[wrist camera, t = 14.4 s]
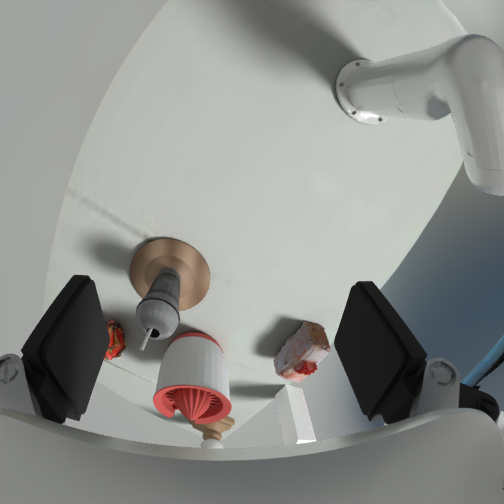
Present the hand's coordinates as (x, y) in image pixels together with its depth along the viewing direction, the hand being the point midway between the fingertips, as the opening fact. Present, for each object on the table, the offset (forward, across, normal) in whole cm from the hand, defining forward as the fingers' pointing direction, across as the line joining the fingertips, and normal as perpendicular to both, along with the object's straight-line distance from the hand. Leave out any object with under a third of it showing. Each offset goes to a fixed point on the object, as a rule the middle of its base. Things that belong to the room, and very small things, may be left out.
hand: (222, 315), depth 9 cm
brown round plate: (+38, +10, +22) cm, 45 cm away
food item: (+39, -18, +40) cm, 59 cm away
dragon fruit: (+38, +26, +38) cm, 60 cm away
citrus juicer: (+38, +6, +43) cm, 58 cm away
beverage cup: (+37, +10, +22) cm, 44 cm away
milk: (+38, -20, +62) cm, 76 cm away
